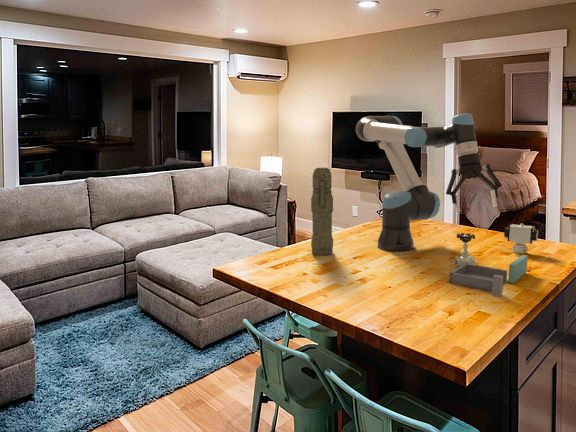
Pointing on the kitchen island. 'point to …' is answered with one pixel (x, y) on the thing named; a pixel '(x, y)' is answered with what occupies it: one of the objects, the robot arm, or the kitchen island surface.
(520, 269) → the gate
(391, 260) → the kitchen island surface
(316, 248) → the grey carved statue
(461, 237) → the valve
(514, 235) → the pneumatic valve
